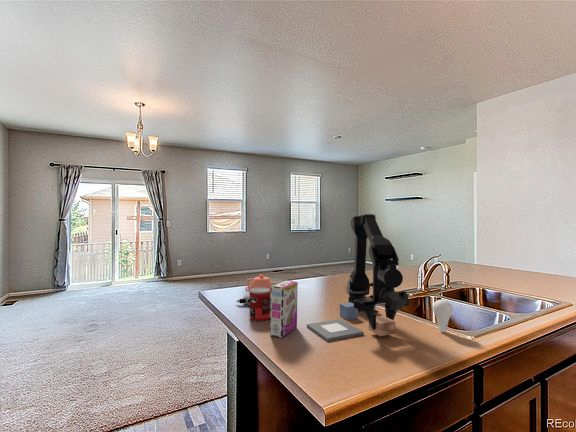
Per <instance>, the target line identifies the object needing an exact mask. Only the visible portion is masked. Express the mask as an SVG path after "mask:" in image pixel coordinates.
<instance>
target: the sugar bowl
mask: <svg viewBox="0 0 576 432" xmlns="http://www.w3.org/2000/svg"><path fill="white" fill-rule="evenodd" d="M249 281H251V283H250V284H249ZM246 285H247V286H246V288H245V292H249V293H250V289H252V288H268V289H270V295H271V286H273V282H272V281H271V279H270V278H269V277H267V276H265V275H264V274H259V275H258V276H257V277H254V278H248V279H247V280H246Z"/></svg>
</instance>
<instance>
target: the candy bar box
mask: <svg viewBox="0 0 576 432" xmlns="http://www.w3.org/2000/svg"><path fill="white" fill-rule="evenodd" d="M298 284H299V283H298V281H293V280H284V281H282V282H279V283H277V284H274V285H273V286H271V304H270V318H269V321H270V323H269V324H270V327H269V331H270V332H269V333H270V334H269V336H271V337H274V338H279V339H283V338H285V337H286V336H287V335H289V334H290V333H291V332H293V331H294V330H296V329H297V328H298Z"/></svg>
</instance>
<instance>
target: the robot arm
mask: <svg viewBox="0 0 576 432" xmlns="http://www.w3.org/2000/svg"><path fill="white" fill-rule="evenodd" d="M350 227H351V231H352V233H353V235H354V237H355V238H354V239H355V241H354V260H353V261H354V262H353V271H352V272H351V273H350V275H349V280H348V281H347V284H346V288H345V290H346V294H348V296H349V297H348V303H349V302H351V303H353V304H354V308H356V309H358V312H359V311H361V312H363V313H364V314H365V316H366V318H367V321H368V324H369V323H370V325H371V327H372V329H373V330H375V329H376V317H377V314H378V313H379V310H377V307H378V306H384V312H385V317H387V318H389V319H392V320H394V321H395V317H396V315H397V312H398V311H400V310H402V309H404V307H408V306H410V299H409V293H408V292H407V291H396V290H395V288H398V287H400V286H401V285H402V283H403V280H404V276H403V274H402V272H401V271H400V270H398V269H397V266H400V265H399V261H400V258H399V257H398V253H397V251H396V248H395V247H394V245H393V243H392V241H390V239H388V238H386V237H385V236H384V235H383V233H382V231H381V229H380V227H379V224H378V222H377V217H376V215H375V214H373V213H368V214H367V213H362V214H360V215H354V216H353V217H352V218H351V219H350ZM367 241H369V243H370V244H369V247H368V246H367V245H368V244H367V243H368V242H367ZM367 247H368V254H369V258H370V261H371V265H372V282H370V279H369V277H368V275H367V273H366V266H367V265H366V260H367V259H366V258H367ZM371 287H372V294H371V295H369V294H370V289H371ZM366 296H369V299H368V298H366ZM370 299H371V300H370Z"/></svg>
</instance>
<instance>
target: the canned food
mask: <svg viewBox="0 0 576 432" xmlns="http://www.w3.org/2000/svg"><path fill="white" fill-rule="evenodd" d="M249 295H250V305H249V319H250V320H252V321H255V322H264V321H268V320H270V312H271V304H270V289H268V288H252V289H250V292H249Z"/></svg>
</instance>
